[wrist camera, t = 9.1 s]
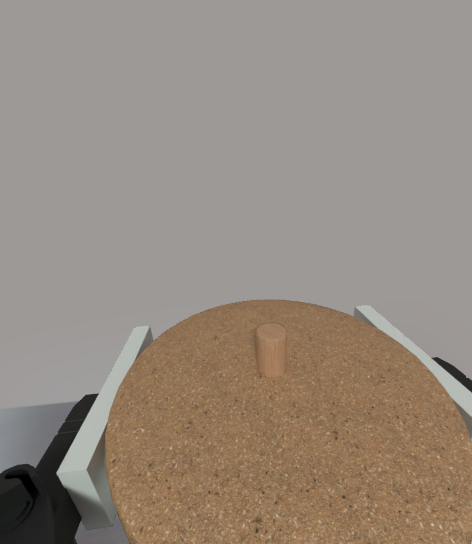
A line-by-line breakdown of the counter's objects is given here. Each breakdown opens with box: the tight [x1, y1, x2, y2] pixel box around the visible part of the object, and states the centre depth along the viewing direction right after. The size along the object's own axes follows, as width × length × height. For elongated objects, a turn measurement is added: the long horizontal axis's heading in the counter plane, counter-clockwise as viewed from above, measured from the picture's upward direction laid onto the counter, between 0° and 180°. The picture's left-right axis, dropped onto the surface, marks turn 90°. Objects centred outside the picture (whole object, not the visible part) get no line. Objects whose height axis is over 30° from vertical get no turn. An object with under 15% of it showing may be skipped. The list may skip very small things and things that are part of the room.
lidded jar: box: [105, 300, 472, 544], centre depth 10 cm, size 11×11×9 cm
